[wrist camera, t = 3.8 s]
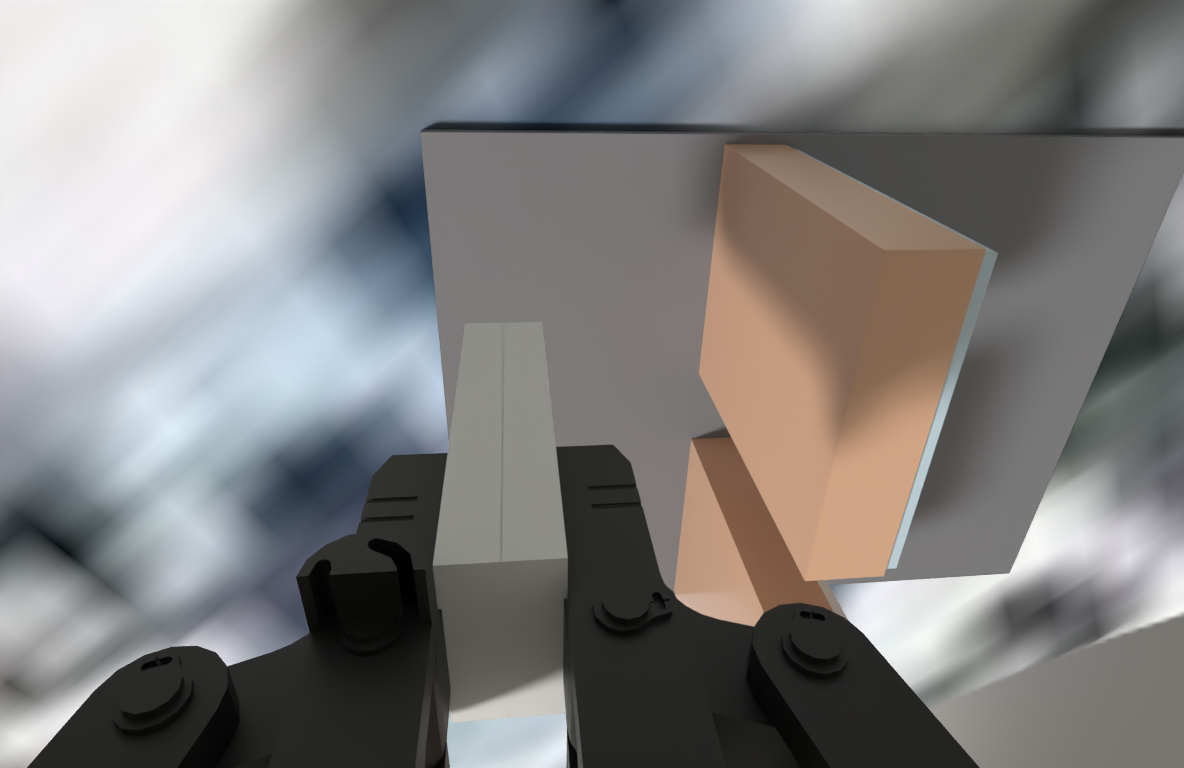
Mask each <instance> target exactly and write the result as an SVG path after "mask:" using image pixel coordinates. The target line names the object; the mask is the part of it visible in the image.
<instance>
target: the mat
mask: <svg viewBox="0 0 1184 768" xmlns="http://www.w3.org/2000/svg"><path fill="white" fill-rule="evenodd" d="M420 134H421V145H422V155H423V166H424V177H425V188H426V199H427V210H428V220H429V231H430V242H431V253H432V264H433V274H434V285H435V296H436V307H437V318H438V328H439V339H440V350H441V361H442V372H443V383H444V393H445V404H446V415H447V426H448V437H449V439H450V432H451V424H452V417H453V409H454V402H455V394H456V387H457V379H458V372H459V364H460V357H461V349H462V342H463V334H464V327H465V323H505V322H543V332H544V341H545V350H546V360H547V369H548V378H549V387H550V397H551V406H552V415H553V425H554V434H555V443H556V447H563V446H588V445H614V446H615V447H616V448H617V449H618V450H619V451H620V452H621V453H622V454H623V455H624V456H625V457H626V458H627V459H628V460H629V461H630V462H631V465H632V469H633V473H634V477H635V480H636V487H637V488H638V492H639V496H640V499H641V507H643V511H644V514H645V518H646V522H647V526H648V529H649V533H650V537H651V541H652V544H653V548H654V552H655V556H656V559H657V563H658V567H659V571H660V574H661V577H662V579H663V581H664V583H665V585H666V586H667V587H668V588H670V589H671V590H672V591H673V592H674V586H675V578H676V569H677V560H678V551H679V542H680V534H681V525H682V516H683V507H684V498H685V490H686V481H687V472H688V463H689V454H690V446H691V439H702V438H727V437H731V436H730V434H729V432H728V430H727V428H726V426H725V424H724V422H723V420H722V418H721V416H720V414H719V412H718V410H717V408H716V406H715V404H714V402H713V400H712V398H711V397H710V395H709V393H708V391H707V389H706V387H705V385H704V383H703V381H702V379H701V377H700V375H699V366H700V358H701V349H702V340H703V331H704V322H705V314H706V305H707V296H708V287H709V278H710V270H711V261H712V252H713V243H714V234H715V226H716V217H717V208H718V199H719V190H720V182H721V173H722V164H723V155H724V146H725V144H778V145H788V146H789V147H791V148H793V149H798V150H800V151H802V152H804V153H806V154H807V155H809V156H811V157H813V158H815V159H817V160H819V161H821V162H823V163H825V164H827V165H829V166H831V167H833V168H835V169H836V170H838V171H840V172H842V173H844V174H846V175H848V176H850V177H852V178H854V179H856V180H858V181H860V182H862V183H864V184H866V185H867V186H869V187H871V188H873V189H875V190H877V191H879V192H881V193H883V194H885V195H887V196H889V197H891V198H893V199H895V200H897V201H898V202H900V203H902V204H904V205H906V206H908V207H910V208H912V209H914V210H916V211H918V212H920V213H922V214H924V215H926V216H928V217H929V218H931V219H933V220H935V221H937V222H939V223H941V224H943V225H945V226H947V227H949V228H951V229H953V230H955V231H957V232H958V233H960V234H962V235H964V236H966V237H968V238H970V239H972V240H974V241H976V242H978V243H980V244H982V245H984V246H986V247H988V248H989V249H991V250H993V251H995V252H997V253H998V255H997V258H996V261H995V265H994V268H993V271H992V274H991V277H990V280H989V283H988V286H987V289H986V292H985V295H984V299H983V302H982V305H981V308H980V311H979V314H978V317H977V320H976V323H975V326H974V329H973V333H972V336H971V339H970V342H969V345H968V348H967V351H966V354H965V357H964V360H963V363H962V367H961V370H960V373H959V376H958V379H957V382H956V385H955V388H954V391H953V394H952V398H951V401H950V404H949V407H948V410H947V413H946V416H945V419H944V422H943V425H942V428H941V432H940V435H939V438H938V441H937V444H936V447H935V450H934V453H933V456H932V459H931V462H930V466H929V469H928V472H927V475H926V478H925V481H924V484H923V487H922V490H921V493H920V496H919V500H918V503H917V506H916V509H915V512H914V515H913V518H912V521H911V524H910V527H909V530H908V534H907V537H906V540H905V543H904V546H903V549H902V552H901V555H900V558H899V561H898V565H897V568H892V569H886V571H885V574H884V576H879V577H863V578H847V579H831V580H826V581H827V583H828V585H836V584H851V583H867V582H882V581H898V580H913V579H929V578H945V577H960V576H976V575H991V574H1007V573H1010V571H1011V568H1012V566H1013V564H1014V561H1015V559H1016V557H1017V554H1018V552H1019V550H1020V548H1021V545H1022V543H1023V541H1024V538H1025V536H1026V534H1027V531H1028V529H1029V527H1030V524H1031V522H1032V520H1033V518H1034V515H1035V513H1036V511H1037V508H1038V506H1039V504H1040V501H1041V499H1042V497H1043V494H1044V492H1045V490H1046V488H1047V485H1048V483H1049V481H1050V478H1051V476H1052V474H1053V471H1054V469H1055V467H1056V464H1057V462H1058V460H1059V458H1060V455H1061V453H1062V451H1063V448H1064V446H1065V444H1066V441H1067V439H1068V437H1069V434H1070V432H1071V430H1072V428H1073V425H1074V423H1075V421H1076V418H1077V416H1078V414H1079V411H1080V409H1081V407H1082V404H1083V402H1084V400H1085V398H1086V395H1087V393H1088V391H1089V388H1090V386H1091V384H1092V381H1093V379H1094V377H1095V374H1096V372H1097V370H1098V368H1099V365H1100V363H1101V361H1102V358H1103V356H1104V354H1105V351H1106V349H1107V347H1108V344H1109V342H1110V340H1111V338H1112V335H1113V333H1114V331H1115V328H1116V326H1117V324H1118V321H1119V319H1120V317H1121V314H1122V312H1123V310H1124V308H1125V305H1126V303H1127V301H1128V298H1129V296H1130V294H1131V291H1132V289H1133V287H1134V284H1135V282H1136V280H1137V278H1138V275H1139V273H1140V271H1141V268H1142V266H1143V264H1144V261H1145V259H1146V257H1147V254H1148V252H1149V250H1150V248H1151V245H1152V243H1153V241H1154V238H1155V236H1156V234H1157V231H1158V229H1159V227H1160V224H1161V222H1162V220H1163V218H1164V215H1165V213H1166V211H1167V208H1168V206H1169V204H1170V201H1171V199H1172V197H1173V194H1174V192H1175V190H1176V188H1177V185H1178V183H1179V181H1180V178H1181V176H1182V174H1183V171H1184V136H1168V135H1044V134H920V133H795V132H671V131H547V130H423V129H422V130H421V132H420ZM674 594H675V592H674Z"/></svg>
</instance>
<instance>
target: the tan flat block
mask: <svg viewBox="0 0 1184 768" xmlns="http://www.w3.org/2000/svg"><path fill="white" fill-rule="evenodd" d="M674 592H675V595H676V598H677V599H678V600H679V601H681V602H682V603H683V604H684V605H686V606H687V607H689V608H691V609H693V610H695V611H697V612H699V613H701V614H703V615H706V616H709V617H713V618H716V619H720V620H725V621H729V622H734V623H739V624H744V625H749V626H755V625H756V623H757V622H758V620H759V619H760V617H761V616H762V614H763V613H765V612H767V611H768V610H770V609H772V608H774V607H776V606H778V605H782V604H792V603H805V604H810V605H815V606H820V607H824V608H826V609H828V610H830V611H832V612H834V613H836V614H838V615H840V616H842V617H845V618H846V616H845V614H844V612H843V610H842V608H841V607H840V605H839V603H838V601H837V599H836V598H835V596H834V594H833V592H832V590H831V588H830V587H829V585H828V583H827V581H826V580H816V581H805V580H804V578H803V576H802V574H801V572H800V570H799V568H798V567H797V565H796V563H795V561H794V559H793V557H792V555H791V553H790V551H789V549H788V547H787V545H786V543H785V541H784V539H783V537H782V535H781V533H780V531H779V529H778V527H777V525H776V524H775V522H774V520H773V518H772V516H771V514H770V512H769V510H768V508H767V506H766V504H765V502H764V500H763V498H762V496H761V494H760V492H759V490H758V488H757V486H756V484H755V482H754V481H753V479H752V477H751V475H750V473H749V471H748V469H747V467H746V465H745V463H744V461H743V459H742V457H741V455H740V453H739V451H738V449H737V447H736V445H735V443H734V441H733V439H732V438H731V437H727V438H702V439H691V446H690V454H689V463H688V472H687V481H686V490H685V498H684V507H683V516H682V525H681V534H680V542H679V551H678V560H677V569H676V578H675V586H674ZM846 619H847V618H846ZM847 620H848V619H847Z"/></svg>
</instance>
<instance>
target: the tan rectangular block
mask: <svg viewBox="0 0 1184 768" xmlns="http://www.w3.org/2000/svg"><path fill="white" fill-rule="evenodd" d="M997 255H998V253H997V252H995V251H993V250H991V249H989V248H988V247H986V246H984V245H982V244H980V243H978V242H976V241H974V240H972V239H970V238H968V237H966V236H964V235H962V234H960V233H958V232H957V231H955V230H953V229H951V228H949V227H947V226H945V225H943V224H941V223H939V222H937V221H935V220H933V219H931V218H929V217H928V216H926V215H924V214H922V213H920V212H918V211H916V210H914V209H912V208H910V207H908V206H906V205H904V204H902V203H900V202H898V201H897V200H895V199H893V198H891V197H889V196H887V195H885V194H883V193H881V192H879V191H877V190H875V189H873V188H871V187H869V186H867V185H866V184H864V183H862V182H860V181H858V180H856V179H854V178H852V177H850V176H848V175H846V174H844V173H842V172H840V171H838V170H836V169H835V168H833V167H831V166H829V165H827V164H825V163H823V162H821V161H819V160H817V159H815V158H813V157H811V156H809V155H807V154H806V153H804V152H802V151H800V150H798V149H793V148H791V147H789V146H788V145H778V144H725V146H724V155H723V164H722V173H721V182H720V190H719V199H718V208H717V217H716V226H715V234H714V243H713V252H712V261H711V270H710V278H709V287H708V296H707V305H706V314H705V322H704V331H703V340H702V349H701V358H700V366H699V375H700V377H701V379H702V381H703V383H704V385H705V387H706V389H707V391H708V393H709V395H710V397H711V398H712V400H713V402H714V404H715V406H716V408H717V410H718V412H719V414H720V416H721V418H722V420H723V422H724V424H725V426H726V428H727V430H728V432H729V434H730V436H731V438H732V439H733V441H734V443H735V445H736V447H737V449H738V451H739V453H740V455H741V457H742V459H743V461H744V463H745V465H746V467H747V469H748V471H749V473H750V475H751V477H752V479H753V481H754V482H755V484H756V486H757V488H758V490H759V492H760V494H761V496H762V498H763V500H764V502H765V504H766V506H767V508H768V510H769V512H770V514H771V516H772V518H773V520H774V522H775V524H776V525H777V527H778V529H779V531H780V533H781V535H782V537H783V539H784V541H785V543H786V545H787V547H788V549H789V551H790V553H791V555H792V557H793V559H794V561H795V563H796V565H797V567H798V568H799V570H800V572H801V574H802V576H803V578H804V580H805V581H816V580H831V579H847V578H863V577H879V576H884V574H885V571H886V569H892V568H897V565H898V561H899V558H900V555H901V552H902V549H903V546H904V543H905V540H906V537H907V534H908V530H909V527H910V524H911V521H912V518H913V515H914V512H915V509H916V506H917V503H918V500H919V496H920V493H921V490H922V487H923V484H924V481H925V478H926V475H927V472H928V469H929V466H930V462H931V459H932V456H933V453H934V450H935V447H936V444H937V441H938V438H939V435H940V432H941V428H942V425H943V422H944V419H945V416H946V413H947V410H948V407H949V404H950V401H951V398H952V394H953V391H954V388H955V385H956V382H957V379H958V376H959V373H960V370H961V367H962V363H963V360H964V357H965V354H966V351H967V348H968V345H969V342H970V339H971V336H972V333H973V329H974V326H975V323H976V320H977V317H978V314H979V311H980V308H981V305H982V302H983V299H984V295H985V292H986V289H987V286H988V283H989V280H990V277H991V274H992V271H993V268H994V265H995V261H996V258H997Z"/></svg>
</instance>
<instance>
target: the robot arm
mask: <svg viewBox="0 0 1184 768" xmlns="http://www.w3.org/2000/svg"><path fill="white" fill-rule="evenodd" d="M296 578H297V582H298V587H299V591H300V595H301V599H302V603H303V607H304V611H305V615H306V619H307V623H308V627H309V631H310V633H309V634H308V635H306V636H304V637H303V638H301V639H299V640H298V641H296V642H294V643H293V644H291V645H288V646H286V647H284V648H281V649H279V650H276V651H274V652H271V653H268V654H265V655H262V656H259V657H256V658H252V659H249V660H246V661H243V662H240V663H237V664H234V665H231V666H228V667H227V666H226V664H225V663H224V662H223V661H222V659H221V658H220V657H219V655H218V654H217V653H216V652H213V651H210V650H207V649H204V648H202V647H199V646H181V647H170V648H167V649H163V650H160V651H157V652H154V653H150V654H147V655H144V656H142V657H140V658H139V659H137V660H135V661H133V662H132V663H130V664H128V665H126V666H124V667H123V668H121V669H119V670H117V671H116V672H115V673H114V674H113V675H112V676H111V677H109V678H108V679H107V680H106V681H105V682H104V683H103V684H102V685H100V686H99V687H98V688H97V689H96V690H95V691H94V692H93V693H92V694H91V695H90V696H89V698H88V699H87V700H86V701H85V702H84V703H83V704H82V706H81V707H80V708H79V709H78V710H77V711H76V712H75V714H74V715H73V716H72V717H71V718H70V719H69V720H68V722H67V723H66V724H65V725H64V726H63V727H62V728H61V730H60V731H59V732H58V733H57V734H56V735H55V736H54V737H53V739H52V740H51V741H50V742H49V743H48V744H47V745H46V747H45V748H44V749H43V750H42V751H41V752H40V753H39V755H38V756H37V757H36V758H35V759H34V760H33V761H32V763H31V764H30V765H29V766H28V767H27V768H450V765H449V757H448V749H447V729H448V717H449V710H450V718H451V722H463V721H476V720H488V719H501V718H513V717H526V716H538V715H550V714H563V713H566V721H567V768H979V767H978V765H977V764H976V763H975V762H974V761H973V760H972V759H971V757H970V756H969V755H968V754H967V753H966V752H965V750H964V749H963V748H962V747H961V746H960V745H959V743H958V742H957V741H956V740H955V739H954V738H953V737H952V735H951V734H950V733H949V732H948V731H947V730H946V729H945V727H943V725H942V724H941V723H940V722H939V720H937V718H936V717H935V716H934V715H933V713H932V712H931V711H930V710H929V709H928V708H927V707H926V705H925V704H924V703H923V702H922V701H921V700H920V698H919V697H918V696H917V695H916V694H915V693H914V692H913V690H912V689H911V688H910V687H909V686H908V685H907V683H906V682H905V681H904V680H903V679H902V678H901V677H900V675H899V674H898V673H897V672H896V671H895V670H894V668H893V667H892V666H891V665H890V664H889V663H888V662H887V660H886V659H885V658H884V657H883V656H882V655H881V653H880V652H879V651H878V650H877V649H876V648H875V647H874V645H873V644H872V643H871V642H870V641H869V640H868V638H867V637H866V636H865V635H864V634H863V633H862V632H861V631H860V630H859V629H857V628H856V627H855V626H854V625H853V624H852V623H850V622H849V621H848V620H847V619H846V618H845V617H842V616H840V615H838V614H836V613H834V612H832V611H830V610H828V609H826V608H824V607H820V606H815V605H810V604H805V603H792V604H782V605H778V606H776V607H774V608H772V609H770V610H768V611H767V612H765V613H763V614H762V616H761V617H760V619H759V620H758V622H757V623H756V625H755V626H749V625H744V624H739V623H734V622H729V621H725V620H720V619H716V618H713V617H709V616H706V615H703V614H701V613H699V612H697V611H695V610H693V609H691V608H689V607H687V606H686V605H684V604H683V603H682V602H681V601H679V600H678V599H677V598H676V596H675V594H674V592H673V591H672V590H671V589H670V588H668V587H667V586H666V585H665V583H664V581H663V579H662V577H661V574H660V571H659V567H658V563H657V559H656V556H655V552H654V548H653V544H652V541H651V537H650V533H649V529H648V526H647V522H646V518H645V514H644V511H643V507H641V499H640V496H639V492H638V488H637V487H636V480H635V477H634V473H633V469H632V465H631V462H630V461H629V460H628V459H627V458H626V457H625V456H624V455H623V454H622V453H621V452H620V451H619V450H618V449H617V448H616V447H615V446H614V445H588V446H563V447H556V443H555V434H554V425H553V415H552V406H551V397H550V387H549V378H548V369H547V360H546V350H545V341H544V332H543V322H505V323H465V327H464V334H463V342H462V349H461V357H460V364H459V372H458V379H457V387H456V394H455V402H454V409H453V417H452V424H451V432H450V439H449V447H448V453H439V454H414V455H392V456H391V457H390V458H389V459H388V460H387V461H386V462H385V463H384V464H383V465H382V467H381V468H380V469H379V470H378V471H377V472H376V473H375V474H374V475H373V477H372V481H371V484H370V488H369V491H368V495H367V498H366V503H365V505H364V509H363V512H362V516H361V523H359V526H358V530H357V533H356V534H352V535H347V536H345V537H343V538H341V539H338V540H336V541H334V542H331V543H329V544H327V545H325V546H324V547H322V548H321V549H320V550H319V551H317V552H316V553H315V554H314V555H312V556H311V557H310V558H308V559H307V561H306V562H305V564H304V565H303V567H302V568H301V570H300V572H299V573H298V575H297V576H296Z"/></svg>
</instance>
